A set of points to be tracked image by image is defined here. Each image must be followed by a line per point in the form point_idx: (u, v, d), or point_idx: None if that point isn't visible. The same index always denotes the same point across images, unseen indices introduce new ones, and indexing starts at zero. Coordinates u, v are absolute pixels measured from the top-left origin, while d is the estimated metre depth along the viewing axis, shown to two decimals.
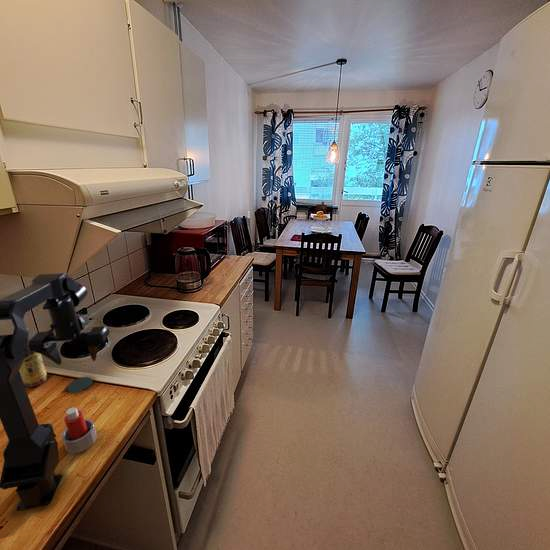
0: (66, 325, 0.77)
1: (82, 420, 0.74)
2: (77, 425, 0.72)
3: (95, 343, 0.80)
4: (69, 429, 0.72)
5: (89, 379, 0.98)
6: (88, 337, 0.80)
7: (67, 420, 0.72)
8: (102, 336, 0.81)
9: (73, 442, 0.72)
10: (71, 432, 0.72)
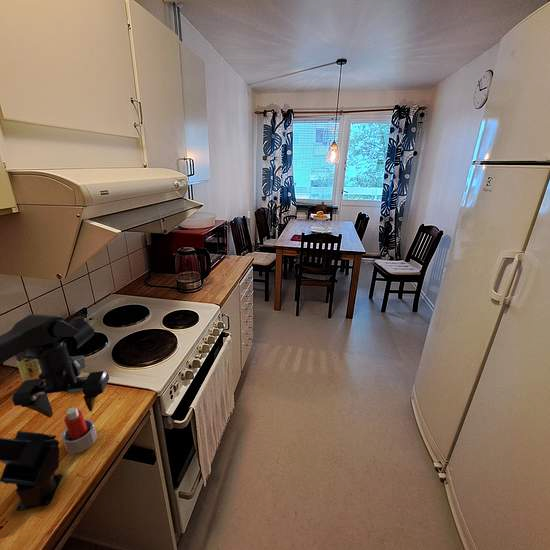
0: (58, 375, 0.65)
1: (82, 420, 0.74)
2: (77, 425, 0.72)
3: (92, 394, 0.68)
4: (69, 429, 0.72)
5: None
6: (84, 387, 0.68)
7: (67, 420, 0.72)
8: (101, 385, 0.69)
9: (73, 442, 0.72)
10: (71, 432, 0.72)
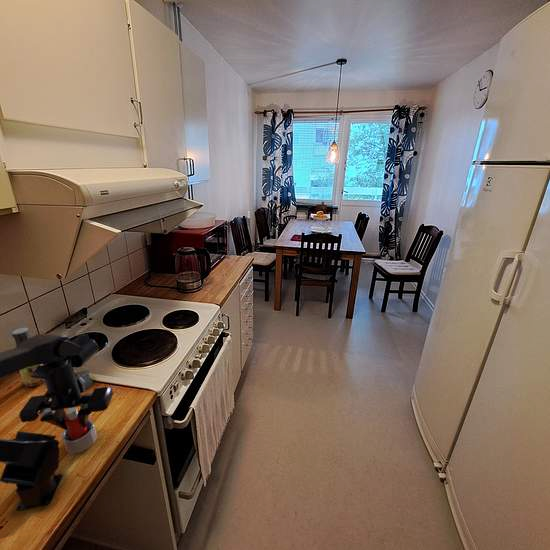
0: (64, 393, 0.67)
1: None
2: (77, 425, 0.72)
3: (97, 410, 0.70)
4: (69, 429, 0.72)
5: (89, 379, 0.98)
6: (89, 404, 0.70)
7: (67, 420, 0.72)
8: (106, 402, 0.71)
9: (73, 442, 0.72)
10: (71, 432, 0.72)
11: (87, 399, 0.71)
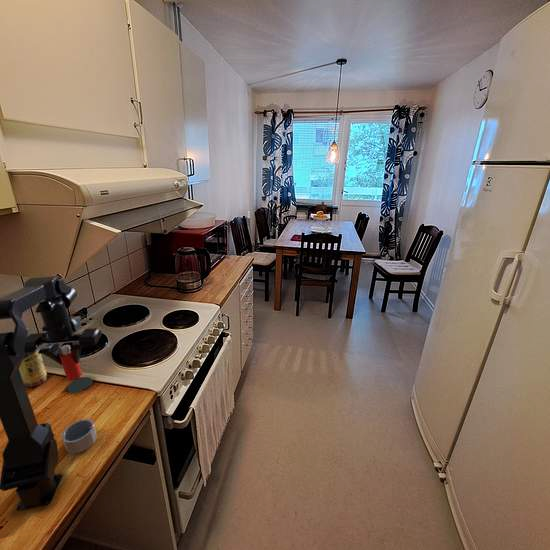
0: (58, 328, 0.78)
1: None
2: (70, 359, 0.84)
3: (87, 345, 0.81)
4: (63, 363, 0.83)
5: (89, 379, 0.98)
6: (80, 339, 0.81)
7: (61, 355, 0.83)
8: (94, 339, 0.82)
9: (73, 442, 0.72)
10: (64, 366, 0.84)
11: (78, 337, 0.83)
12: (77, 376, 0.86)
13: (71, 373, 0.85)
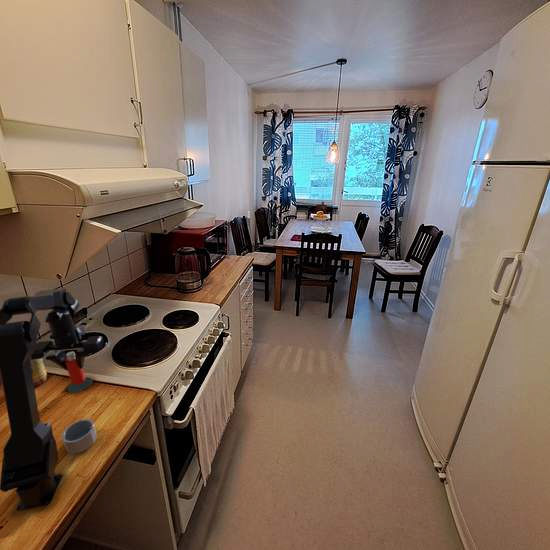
0: (64, 336, 0.85)
1: None
2: (75, 365, 0.91)
3: (91, 352, 0.89)
4: (68, 368, 0.91)
5: (89, 379, 0.98)
6: (84, 346, 0.88)
7: (67, 361, 0.90)
8: (97, 346, 0.89)
9: (73, 442, 0.72)
10: (70, 371, 0.91)
11: (83, 344, 0.90)
12: (81, 380, 0.94)
13: (76, 378, 0.92)
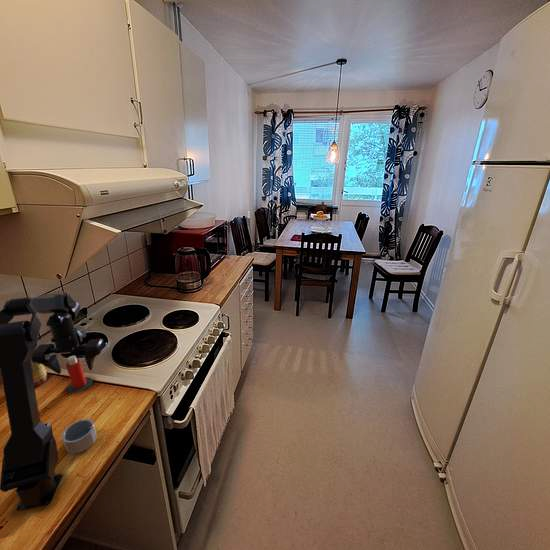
0: (65, 339, 0.86)
1: (80, 366, 0.93)
2: (76, 369, 0.91)
3: (91, 355, 0.89)
4: (69, 372, 0.91)
5: (89, 379, 0.98)
6: (85, 349, 0.88)
7: (68, 365, 0.91)
8: (98, 348, 0.90)
9: (73, 442, 0.72)
10: (71, 375, 0.91)
11: (83, 347, 0.90)
12: (82, 384, 0.94)
13: (77, 382, 0.93)
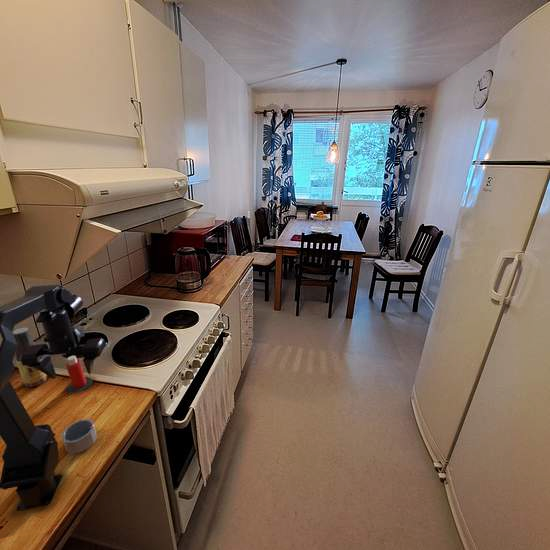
0: (60, 338, 0.74)
1: (80, 366, 0.93)
2: (76, 369, 0.91)
3: (91, 356, 0.78)
4: (69, 372, 0.91)
5: (89, 379, 0.98)
6: (83, 350, 0.77)
7: (68, 365, 0.91)
8: (98, 349, 0.78)
9: (73, 442, 0.72)
10: (71, 375, 0.91)
11: (81, 347, 0.79)
12: (82, 384, 0.94)
13: (77, 382, 0.93)
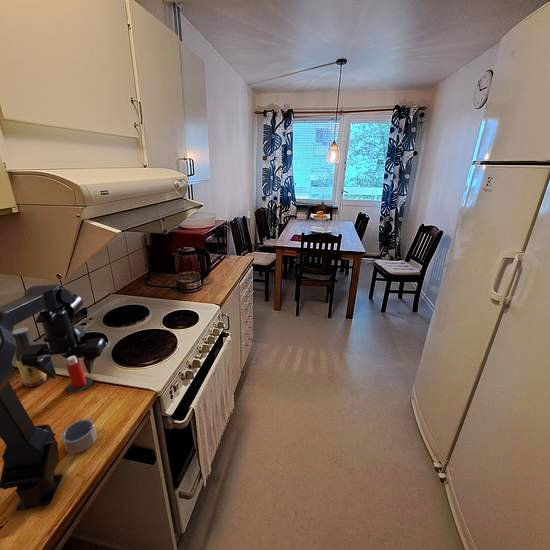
0: (60, 338, 0.74)
1: (80, 366, 0.93)
2: (76, 369, 0.91)
3: (91, 356, 0.77)
4: (69, 372, 0.91)
5: (89, 379, 0.98)
6: (83, 350, 0.77)
7: (68, 365, 0.91)
8: (98, 349, 0.78)
9: (73, 442, 0.72)
10: (71, 375, 0.91)
11: (82, 347, 0.79)
12: (82, 384, 0.94)
13: (77, 382, 0.93)
